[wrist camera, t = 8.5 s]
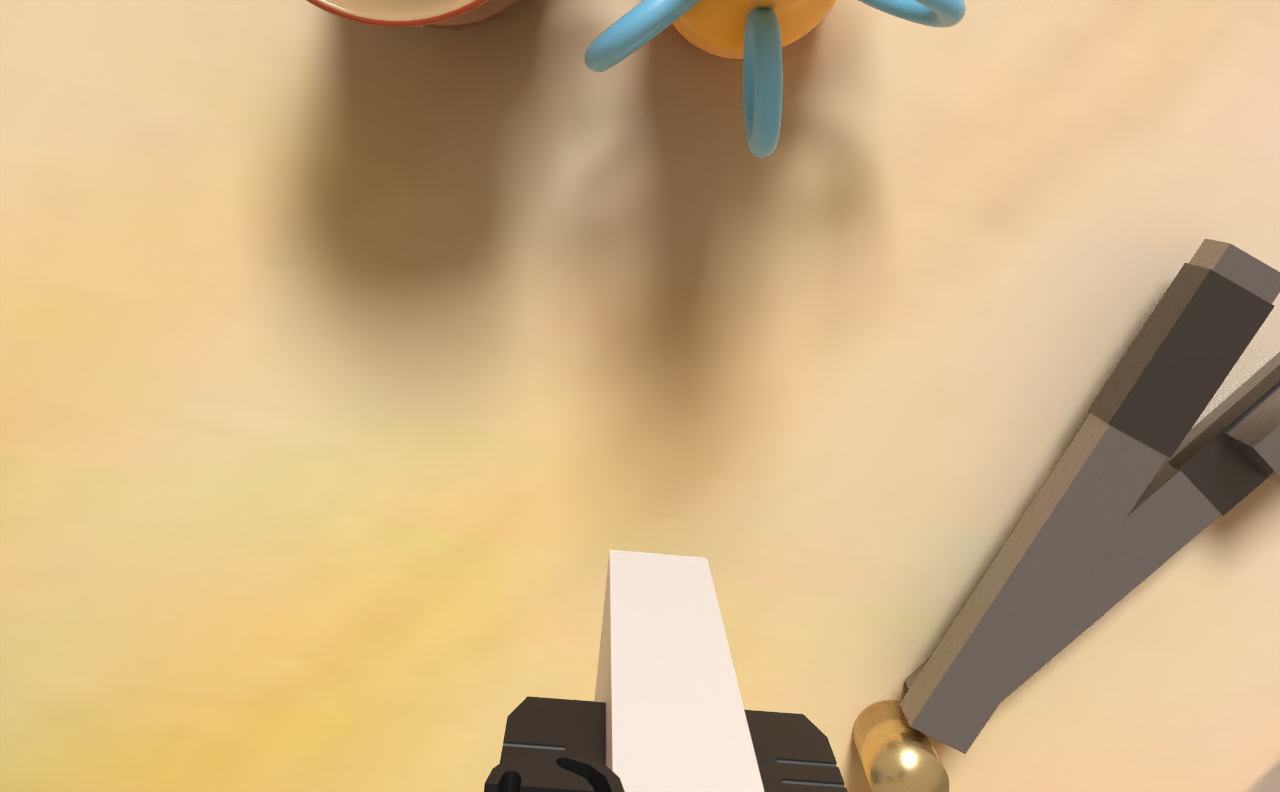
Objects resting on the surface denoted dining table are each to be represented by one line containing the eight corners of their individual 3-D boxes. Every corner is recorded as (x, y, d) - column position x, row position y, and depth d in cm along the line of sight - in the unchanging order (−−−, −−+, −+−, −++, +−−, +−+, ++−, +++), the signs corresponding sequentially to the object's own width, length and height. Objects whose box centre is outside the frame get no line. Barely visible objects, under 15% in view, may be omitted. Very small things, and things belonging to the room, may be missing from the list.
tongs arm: (954, 730, 42) (967, 755, 40) (897, 702, 41) (908, 726, 40) (1263, 272, 37) (1292, 279, 36) (1201, 237, 37) (1228, 242, 35)
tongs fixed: (885, 775, 44) (908, 834, 40) (838, 732, 44) (857, 788, 40) (1350, 375, 40) (1423, 400, 37) (1305, 323, 40) (1374, 343, 36)
